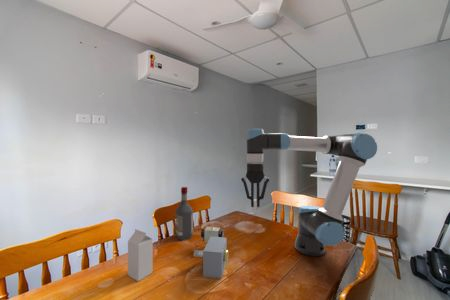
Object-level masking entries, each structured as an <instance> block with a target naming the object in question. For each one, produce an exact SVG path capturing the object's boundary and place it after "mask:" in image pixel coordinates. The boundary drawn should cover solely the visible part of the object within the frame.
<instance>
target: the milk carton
mask: <svg viewBox="0 0 450 300" xmlns="http://www.w3.org/2000/svg"><path fill="white" fill-rule="evenodd" d="M153 241H154V240H153V238H151V237H150V236H148V233H147V232H145V231H142V230H140V229H136V228H135V229H134V232H133V234H132V235H131V237H130V238H129V239H128V240H127V276H128V277H129V278H132V279H133V280H135V281H136V282H140V281H141V280H143V279H145V278H147V277H149V275H151V274H152V273H153V272H154V271H153V257H154V255H153V248H154V247H153V245H154V244H153Z"/></svg>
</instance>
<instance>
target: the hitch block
mask: <svg viewBox="0 0 450 300" xmlns="http://www.w3.org/2000/svg"><path fill="white" fill-rule="evenodd" d="M227 239H228V238H227V237H225V236H224V237H210V238H209V240H208V242H207V243H206V245H205V247H204V249H203V250H204V251H203V257H202V260H203V261H202V277H206V278H215V279H222V278H223V275H224V270H225V267H226V263H227V262H224V260H223V257H224V250H227Z"/></svg>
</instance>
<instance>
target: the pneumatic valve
mask: <svg viewBox="0 0 450 300" xmlns="http://www.w3.org/2000/svg"><path fill="white" fill-rule="evenodd" d="M210 237H224V238H225V232H224V230H222V227H216V226H205V227H204V228H203V229H201V231H200V238H202V241H203V242H205V243H206V242H208V240H209V238H210Z"/></svg>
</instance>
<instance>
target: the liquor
mask: <svg viewBox="0 0 450 300" xmlns="http://www.w3.org/2000/svg"><path fill="white" fill-rule="evenodd" d="M180 188H181V189H180V194H181V195H180V196H181V200H180V204H179V205H178V206H177V207H176V208H175V231H174V232H175V233H174V234H175V237H176V238H177V240H178V241H179V240H180V241H185V240H189V239H191V238H193V234H194V210H193V208H192V206H190V204H189V203H188V187H187V186H182V187H180Z"/></svg>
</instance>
